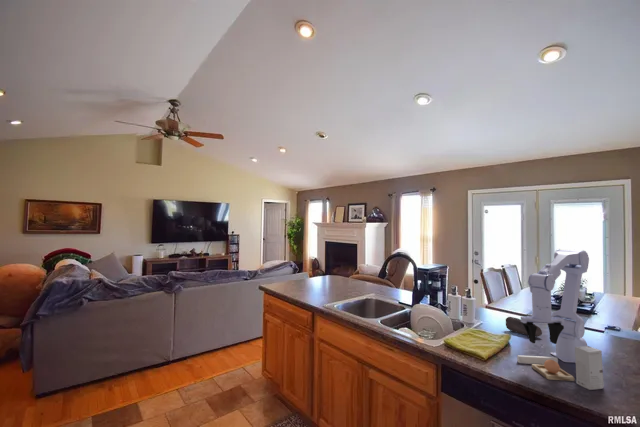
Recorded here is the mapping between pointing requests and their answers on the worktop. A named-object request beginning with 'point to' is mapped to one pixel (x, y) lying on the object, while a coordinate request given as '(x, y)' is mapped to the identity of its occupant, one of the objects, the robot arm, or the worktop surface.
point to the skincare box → (589, 367)
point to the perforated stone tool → (519, 326)
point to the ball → (552, 366)
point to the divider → (534, 359)
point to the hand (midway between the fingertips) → (542, 342)
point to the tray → (553, 376)
